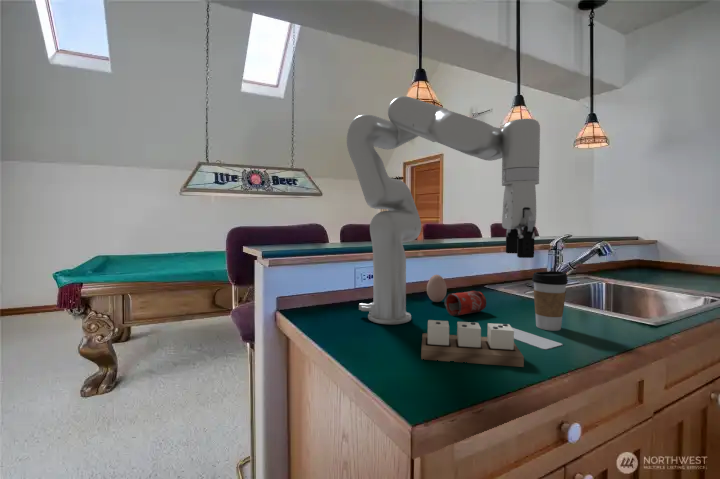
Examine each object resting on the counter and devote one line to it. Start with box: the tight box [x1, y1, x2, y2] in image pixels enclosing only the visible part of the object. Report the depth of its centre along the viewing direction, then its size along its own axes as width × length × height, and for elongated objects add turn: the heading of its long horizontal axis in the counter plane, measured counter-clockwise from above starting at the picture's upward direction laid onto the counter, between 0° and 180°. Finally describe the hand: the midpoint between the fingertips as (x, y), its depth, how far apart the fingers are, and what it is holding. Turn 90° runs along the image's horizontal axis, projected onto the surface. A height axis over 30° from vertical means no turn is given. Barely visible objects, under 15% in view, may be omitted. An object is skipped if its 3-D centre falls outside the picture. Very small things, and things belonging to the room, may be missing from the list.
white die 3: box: [486, 322, 515, 350], centre depth 76 cm, size 4×4×4 cm
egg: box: [426, 274, 448, 303], centre depth 124 cm, size 7×7×10 cm
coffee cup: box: [532, 270, 569, 332], centre depth 95 cm, size 8×8×15 cm
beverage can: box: [444, 290, 487, 317], centre depth 110 cm, size 7×12×7 cm, turn 117°
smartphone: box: [512, 327, 564, 351], centre depth 87 cm, size 7×1×15 cm
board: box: [420, 332, 525, 368], centre depth 77 cm, size 20×11×2 cm, turn 79°
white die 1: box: [427, 319, 450, 345], centre depth 78 cm, size 4×4×4 cm
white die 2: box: [456, 321, 482, 348], centre depth 77 cm, size 4×4×4 cm
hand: (518, 255), depth 79 cm, fingers open, 9 cm apart
